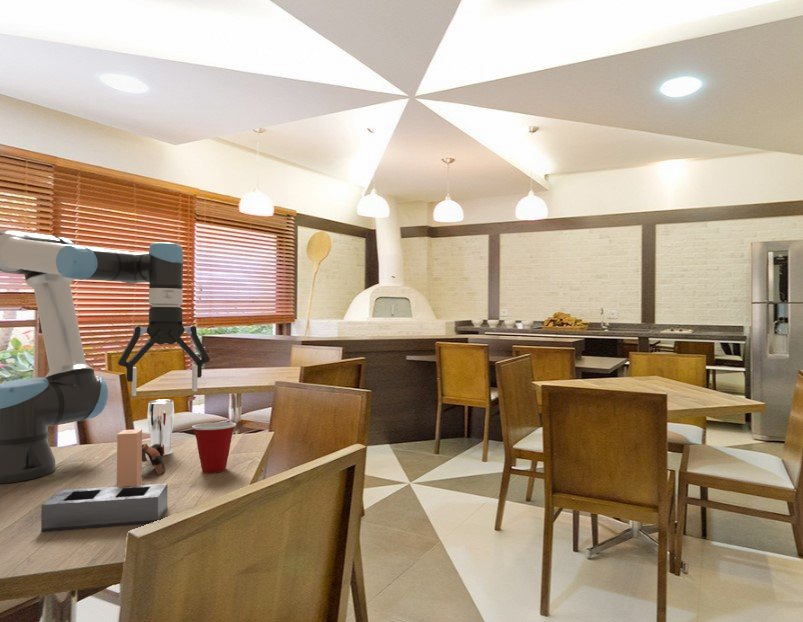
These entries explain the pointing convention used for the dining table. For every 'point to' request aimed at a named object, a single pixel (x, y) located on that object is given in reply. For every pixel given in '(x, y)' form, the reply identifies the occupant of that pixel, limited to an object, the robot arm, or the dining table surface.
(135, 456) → the terracotta peg
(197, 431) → the plastic cup
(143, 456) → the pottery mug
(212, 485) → the dining table surface
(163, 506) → the grey peg hole block
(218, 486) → the dining table surface
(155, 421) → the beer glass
